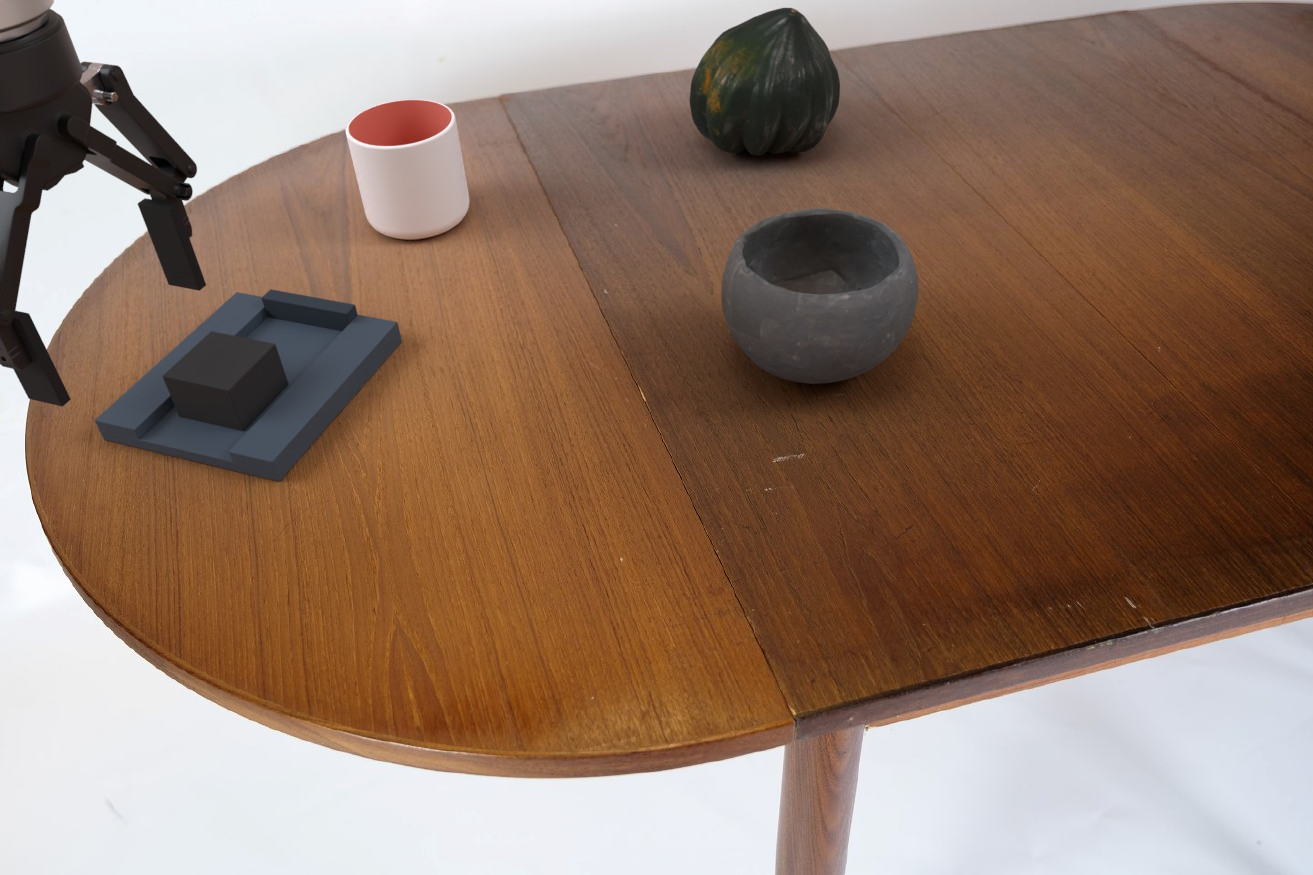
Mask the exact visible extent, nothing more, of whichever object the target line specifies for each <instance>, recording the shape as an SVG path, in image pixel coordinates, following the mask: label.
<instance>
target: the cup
mask: <svg viewBox="0 0 1313 875" xmlns="http://www.w3.org/2000/svg"><path fill="white" fill-rule="evenodd" d="M345 136H346V141H347V144H348V148H349V152H350V157H351V161H352V165H353V168H354V173H355V177H356V182H357V184H358V185H357V186H358V189H359V193H360V197H361V201H362V206H363V210H364V215H365V217H366V219H367V222H368V223H369V224H370V226H371V227H372V228H373V229H374V230H375V231H377V232H378V233H380V234H382V235H384V236H387V237H389V238H393V239H398V240H422V239H427V238H431V237H435V236H439V235H441V234H444V233H446V232H448V231H449V230H452V229H453V228H455V227H456V226H457V225H458V224H460V223H461V222H462V221H463V219H464V218H465V217H466V215H467V213H468V211H469V208H470V195H469V194H470V193H469V189H468V182H467V177H466V172H465V165H464V160H463V159H464V158H463V154H462V148H461V142H460V136H459V130H458V124H457V119H456V114H455V113H454V111H453V110H452V109H451V108H450V107H449V106H447V105H445V104H443V103H441V102H438V101H434V100H429V99H417V98H414V99H413V98H409V99H397V100H392V101H386V102H382V103H379V104H376V105H373V106H370V107H368V108H366V109H364V110H362V111H360V112H358V113H357V114H356V115H354V116H353V117H352V118H351V119H350V120H349V121H348V123H347V125H346V127H345Z"/></svg>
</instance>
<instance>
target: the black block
mask: <svg viewBox="0 0 1313 875" xmlns="http://www.w3.org/2000/svg"><path fill="white" fill-rule="evenodd" d="M163 379H164V381H165V384H166V386H167V388H168V391H169V393H170V396H171V398H172V400H173V403H174V405H175V407H176V410H177V412H178V415H179V416H180V417H183V418H188V419H192V420H197V421H201V422H205V423H210V424H214V425H219V426H223V427H227V428H232V429H236V430H241V431H245V430H246V429H247V428H248V426H249V425H250V424H251V423H252V422H253V421H254V420H255V419H256V418H257V417H258V416H259V415H260V414H261V413H262V412H263V411H264V410H265V409H266V408H267V406H268V405H269V404H270V403H271V402H272V401H273V400H274V399H275V398H276V397H277V396H278V395H279V394H280V393H281V392H282V391H283V390H284V389H285V388H286V386H287V385H288V381H287V378H286V375H285V372H284V369H283V365H282V362H281V359H280V356H279V353H278V350H277V347H276V344H273V343H268V342H263V341H258V340H253V339H248V338H243V337H238V336H233V335H228V334H223V333H218V332H213V331H211V332H210V333H209V334H208V335H207V336H205V337H204V338H203V339H202V340H201V341H200V342H199V343H198V344H197V345H196V346H195V347H193V348H192V349H191V350H190V351H189V352H188V353H187V354H186V355H185V356H184V357H183V358H181V359H180V360H179V361H178V362H177V363H176V364H175V365H174V366H173V367H172V368H171V369H170V370H168V371H167V372H166V373H165V374H164V375H163Z"/></svg>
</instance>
